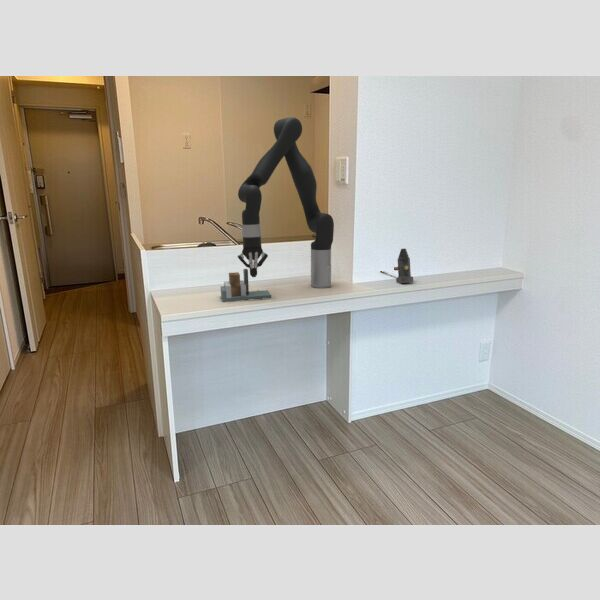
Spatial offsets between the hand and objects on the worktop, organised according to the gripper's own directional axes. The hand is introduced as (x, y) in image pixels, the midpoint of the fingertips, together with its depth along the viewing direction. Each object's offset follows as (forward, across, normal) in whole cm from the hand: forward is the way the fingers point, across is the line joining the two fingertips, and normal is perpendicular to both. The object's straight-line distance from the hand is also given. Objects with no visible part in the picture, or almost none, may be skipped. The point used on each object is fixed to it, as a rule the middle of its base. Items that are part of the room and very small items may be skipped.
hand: (253, 276), depth 195 cm
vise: (+9, -4, 0) cm, 9 cm away
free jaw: (+7, -5, 0) cm, 8 cm away
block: (+7, -8, 0) cm, 11 cm away
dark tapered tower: (+10, +72, +19) cm, 76 cm away
